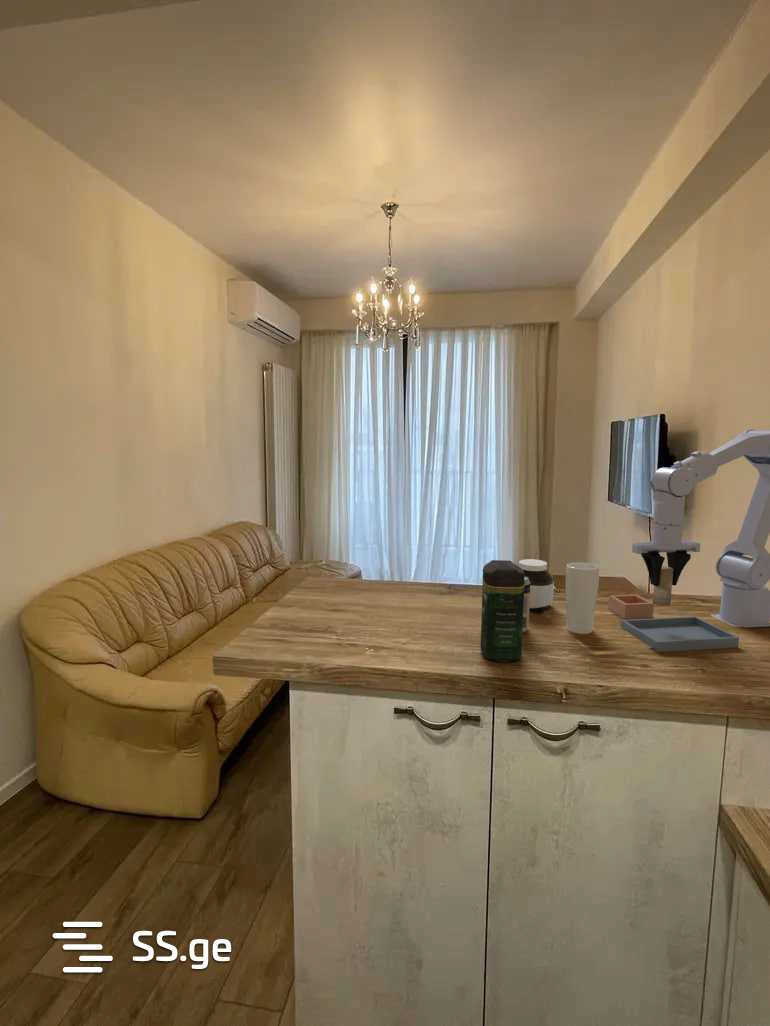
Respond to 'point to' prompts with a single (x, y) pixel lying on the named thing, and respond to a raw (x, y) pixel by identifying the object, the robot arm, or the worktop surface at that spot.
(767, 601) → the robot arm
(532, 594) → the spread jar
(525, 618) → the beer can
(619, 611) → the salmon open box
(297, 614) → the worktop surface
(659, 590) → the ash peg
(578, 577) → the drinking glass
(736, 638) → the slate tray
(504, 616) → the coffee jar
